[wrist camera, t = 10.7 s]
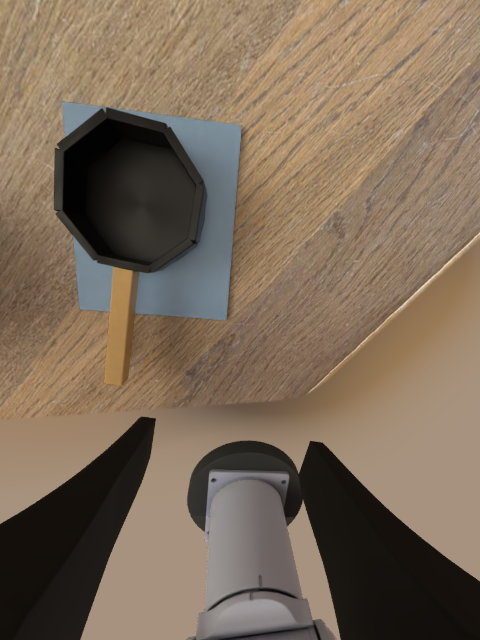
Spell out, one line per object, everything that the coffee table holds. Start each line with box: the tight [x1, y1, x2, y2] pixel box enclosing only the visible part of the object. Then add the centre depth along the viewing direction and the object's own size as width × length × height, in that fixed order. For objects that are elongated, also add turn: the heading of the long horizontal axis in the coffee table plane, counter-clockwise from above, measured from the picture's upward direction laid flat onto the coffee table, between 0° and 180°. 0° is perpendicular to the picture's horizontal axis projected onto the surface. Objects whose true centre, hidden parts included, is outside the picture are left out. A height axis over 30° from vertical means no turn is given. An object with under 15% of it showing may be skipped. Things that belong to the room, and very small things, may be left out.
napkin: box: [62, 101, 242, 320], centre depth 17 cm, size 13×11×1 cm
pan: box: [54, 107, 207, 386], centre depth 16 cm, size 16×8×3 cm, turn 168°
